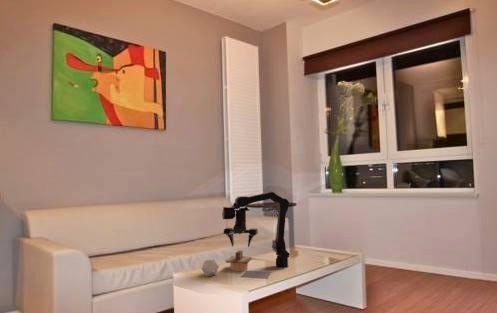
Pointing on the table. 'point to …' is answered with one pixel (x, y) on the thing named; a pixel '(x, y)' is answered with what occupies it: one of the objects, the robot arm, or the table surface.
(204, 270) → the die
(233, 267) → the bowl
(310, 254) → the table surface
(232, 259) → the lid
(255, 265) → the table surface
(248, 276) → the tray
